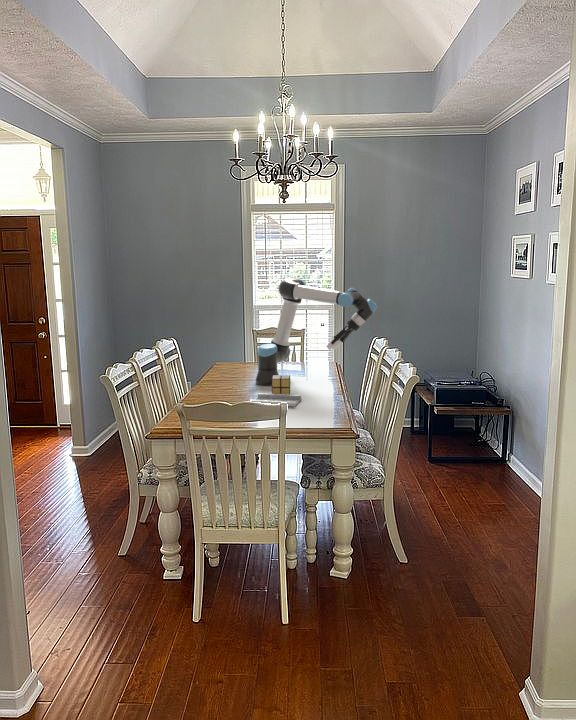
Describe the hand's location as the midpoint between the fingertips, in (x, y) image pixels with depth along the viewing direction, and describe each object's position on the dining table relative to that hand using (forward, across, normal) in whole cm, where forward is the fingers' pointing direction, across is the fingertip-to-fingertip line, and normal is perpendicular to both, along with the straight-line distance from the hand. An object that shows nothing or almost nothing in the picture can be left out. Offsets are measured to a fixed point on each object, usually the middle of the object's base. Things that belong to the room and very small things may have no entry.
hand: (330, 348), depth 348 cm
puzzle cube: (+36, -21, -2) cm, 41 cm away
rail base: (+36, -40, -6) cm, 54 cm away
